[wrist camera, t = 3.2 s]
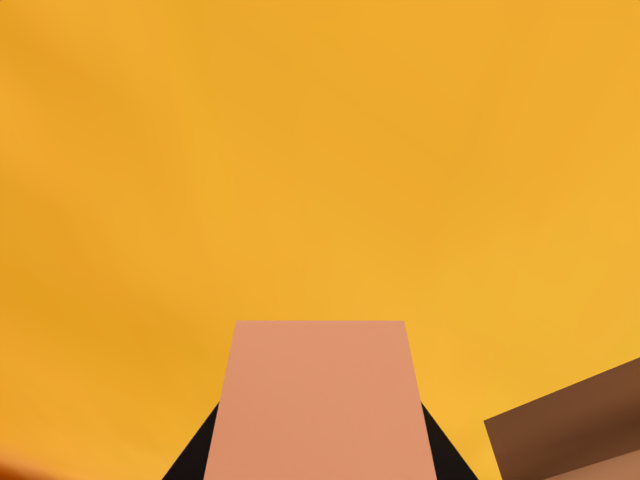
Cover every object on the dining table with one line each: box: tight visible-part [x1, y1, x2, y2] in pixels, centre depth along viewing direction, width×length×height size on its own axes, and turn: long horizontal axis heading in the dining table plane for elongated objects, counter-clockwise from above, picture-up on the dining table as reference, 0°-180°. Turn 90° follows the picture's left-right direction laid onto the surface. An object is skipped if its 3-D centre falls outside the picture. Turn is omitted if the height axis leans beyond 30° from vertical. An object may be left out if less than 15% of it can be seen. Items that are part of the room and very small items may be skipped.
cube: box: [204, 321, 437, 480], centre depth 12 cm, size 5×5×5 cm
